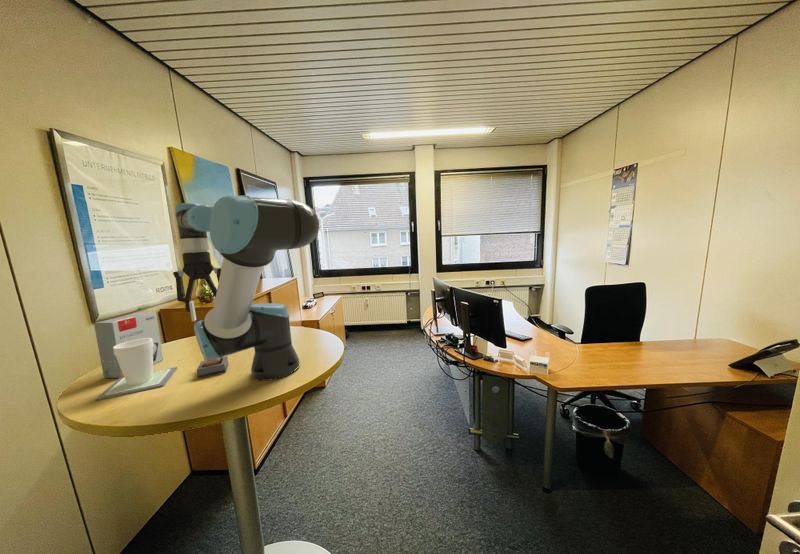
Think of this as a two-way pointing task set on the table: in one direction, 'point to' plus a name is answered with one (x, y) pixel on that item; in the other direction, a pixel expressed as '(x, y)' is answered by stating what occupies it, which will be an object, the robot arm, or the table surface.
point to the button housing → (212, 368)
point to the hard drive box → (125, 338)
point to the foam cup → (135, 360)
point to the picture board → (122, 387)
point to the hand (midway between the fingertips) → (206, 318)
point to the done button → (212, 362)
